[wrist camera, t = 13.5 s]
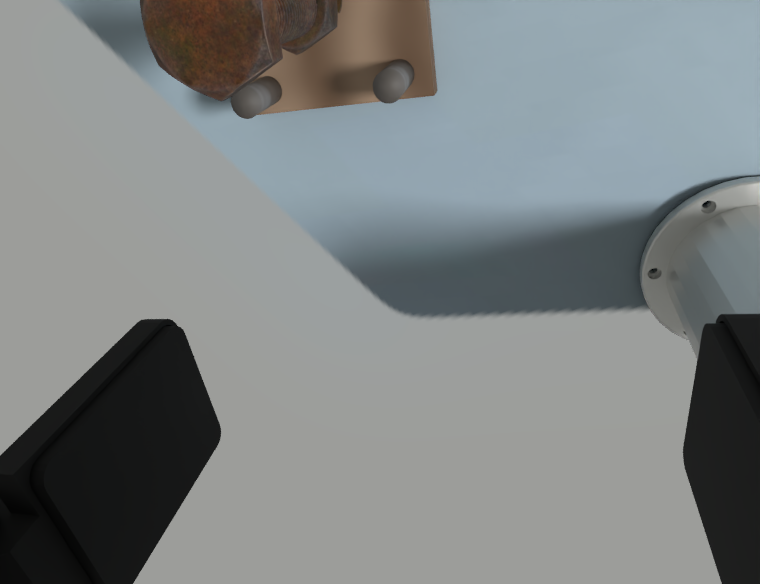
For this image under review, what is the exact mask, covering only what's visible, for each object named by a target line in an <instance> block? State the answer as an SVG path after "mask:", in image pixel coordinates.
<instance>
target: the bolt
mask: <svg viewBox="0 0 760 584" xmlns="http://www.w3.org/2000/svg"><path fill="white" fill-rule="evenodd" d="M140 6H141V14H142V20H143V25H144V29H145V33H146V37H147V40H148V42H149V45H150V48H151V50H152V53H153V55H154V57H155V59H156V61H157V63H158V65H159V66H160V67H161V68H162V69H163V70H165V71H166V72H167V73H168V74H169V75H171V76H172V77H174V78H175V79H176V80H178V81H180V82H181V83H183V84H185V85H186V86H188V87H190V88H191V89H193V90H195V91H197V92H200V93H202V94H204V95H206V96H209V97H212V98H214V99H217V100H220V101H223V100H225V99H227V98H230V97H232V96H233V95H235V94H236V93H237V92H239V91H240V90H241V89H243V88H244V87H245V86H247V85H248V84H250V83H251V82H252V81H254V80H255V79H256V78H258V77H259V76H260V75H262V74H263V73H264V72H266V71H267V70H268V69H270V68H271V67H272V66H274V65H275V64H276V63H278V62H279V61H280V60H282V59H283V54H282V49H284V50H286V51H288V52H291V53H293V54H295V55H298V54H300V53H303V52H304V51H306V50H307V49H309V48H310V47H312V46H313V45H314V44H316V43H317V42H318V41H320V40H321V39H323V38H324V37H325V36H327V35H328V34H329V33H331V32H332V31H333V30H334V29H335V28H337V22H338V13H340V12H341V9H342V0H140Z"/></svg>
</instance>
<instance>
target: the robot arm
mask: <svg viewBox="0 0 760 584" xmlns="http://www.w3.org/2000/svg"><path fill="white" fill-rule="evenodd" d="M706 201H709V202H708V203H707V204H706V205H702V204H703V203H704V202H706ZM654 268H655V269H654ZM651 269H654V270H651ZM640 283H641V288H642V291H643V295H644V298H645V300H646V302H647V304H648V306H649V309H650V311H651V312H652V313H653V315H654V316H655V317H656V318H657V319H658V321H659V322H660V323H661V324H662V325H664V326H665V327H666V328H668V329H669V330H670V331H671V332H673V333H675V334H676V335H678V336H681V337H682V338H684V339H687V340H689V342H690V344H691V346H692V349H693V351H694V353H695V355H696V358H697V366H696V373H695V379H694V385H693V391H692V397H691V403H690V409H689V416H688V422H687V428H686V434H685V441H684V447H683V457H684V465H685V470H686V473H687V476H688V479H689V483H690V486H691V488H692V492H693V495H694V498H695V501H696V504H697V507H698V511H699V514H700V517H701V520H702V523H703V526H704V529H705V532H706V535H707V538H708V542H709V545H710V548H711V551H712V554H713V557H714V560H715V564H716V566H717V570H718V573H719V576H720V579H721V582H722V584H760V176H758V177H745V178H740V179H736V180H731V181H727V182H723V183H721V184H718V185H715V186H713V187H710V188H708V189H705V190H703V191H701V192H699V193H698V194H696V195H694V196H692V197H690V198H689V199H687V200H685V201H684V202H683V203H681V204H680V205H679V206H678V207H676V208H675V209H674V210H673V211H671V212H670V213H669V214H668V215H667V216H666V217H665V218H664V220H663V221H662V222H661V223H660V224H659V225H658V226H657V227H656V229H655V231H654V232H653V234H652V235H651V237H650V239H649V240H648V242H647V244H646V247H645V250H644V252H643V255H642V259H641V265H640ZM220 437H221V428H220V424H219V422H218V419H217V416H216V414H215V411H214V408H213V406H212V403H211V401H210V398H209V395H208V393H207V390H206V387H205V385H204V382H203V380H202V377H201V374H200V372H199V369H198V367H197V364H196V361H195V359H194V356H193V354H192V351H191V348H190V346H189V343H188V340H187V338H186V335H185V333H184V331H183V329H181V327H178V326H177V325H176V323H175V322H173V320H170V319H145V320H141V321H139V322H138V323H137V324H136V325H135V326H133V327H132V329H130V330H129V331H128V332H127V333H126V334H125V335H124V336H123V337H122V338H121V339H120V340H119V341H118V342H117V343H116V344H115V345H114V346H113V347H112V348H111V349H110V350H109V351H108V352H107V353H106V354H105V355H104V356H103V357H102V358H100V360H98V362H96V363H95V364H94V365H93V366H92V367H91V368H90V369H89V370H88V371H87V372H86V373H85V374H84V375H83V376H82V377H81V378H80V379H79V380H78V381H77V382H76V383H75V384H74V385H73V386H72V387H71V388H70V389H69V390H68V391H66V392H65V394H63V395H62V397H60V399H58V400H57V401H56V402H55V403H54V404H53V405H52V406H51V407H50V408H49V409H48V410H47V411H46V412H45V413H44V414H43V415H42V416H41V417H40V418H39V419H38V420H37V421H36V422H34V423H33V424H32V426H30V428H28V429H27V430H26V431H25V432H24V433H23V434H22V435H21V436H20V437H19V438H18V439H17V440H16V441H15V442H14V443H13V444H12V445H11V446H10V447H9V448H8V449H7V450H6V451H5V452H4V453H3V454H2V455H1V456H0V584H133V583H134V581H135V579H136V578H137V576H138V574H139V573H140V571H141V570H142V568H143V566H144V565H145V563H146V561H147V560H148V558H149V556H150V555H151V553H152V552H153V550H154V548H155V547H156V545H157V543H158V542H159V540H160V539H161V537H162V535H163V534H164V532H165V530H166V529H167V527H168V525H169V524H170V522H171V521H172V519H173V517H174V516H175V514H176V512H177V511H178V509H179V508H180V506H181V504H182V503H183V501H184V499H185V498H186V496H187V494H188V493H189V491H190V490H191V488H192V486H193V485H194V483H195V481H196V480H197V478H198V477H199V475H200V473H201V471H202V470H203V468H204V467H205V465H206V463H207V462H208V460H209V459H210V457H211V455H212V454H213V452H214V450H215V449H216V447H217V445H218V443H219V441H220Z"/></svg>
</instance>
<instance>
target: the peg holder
mask: <svg viewBox="0 0 760 584" xmlns="http://www.w3.org/2000/svg"><path fill="white" fill-rule="evenodd" d="M282 54H283V59H282V60H280V61H279V62H278V63H276V64H275V65H274V66H272V67H271V68H270V69H268V70H267V71H266V72H264V73H263V74H262V75H260V76H259V77H258V78H256V79H255V80H254V81H252V82H251V83H250V84H248V85H247V86H245V87H244V88H243V89H241V90H240V91H239V92H237V93H236V94H235V95H233V96H232V97H231V105H232V108H233V110H234V111H235V113H236V114H237V115H238V116H240V117H242V118H245V119H249V118H252V117H254V116H256V115H261V114H270V113H279V112H288V111H297V110H306V109H315V108H325V107H334V106H343V105H352V104H361V103H370V102H379V101H381V102H384V103H393V102H396V101H397V100H398V99H406V98H415V97H425V96H434V95H435V93H436V92H437V83H436V72H435V61H434V50H433V40H432V29H431V18H430V7H429V0H342V9H341V12H340V13H338V22H337V28H335V29H334V30H333V31H332V32H331V33H329V34H328V35H327V36H325V37H324V38H323V39H321V40H320V41H318V42H317V43H316V44H314V45H313V46H312V47H310V48H309V49H307V50H306V51H304V52H303V53H300V54H298V55H295V54H293V53H291V52H288V51H286V50H284V49H282Z"/></svg>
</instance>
